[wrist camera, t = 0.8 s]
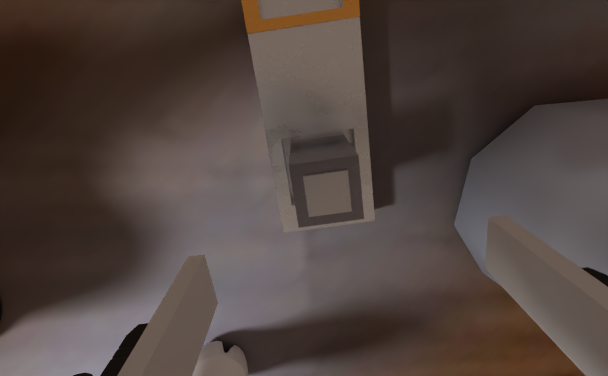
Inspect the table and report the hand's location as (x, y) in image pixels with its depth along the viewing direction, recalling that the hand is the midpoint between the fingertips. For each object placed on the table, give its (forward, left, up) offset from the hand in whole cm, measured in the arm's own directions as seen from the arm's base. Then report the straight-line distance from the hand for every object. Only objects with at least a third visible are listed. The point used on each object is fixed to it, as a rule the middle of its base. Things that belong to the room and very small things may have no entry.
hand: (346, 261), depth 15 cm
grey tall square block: (0, 0, -17) cm, 17 cm away
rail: (0, +8, -18) cm, 20 cm away
